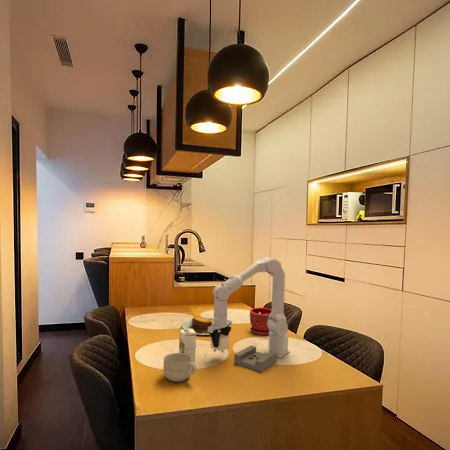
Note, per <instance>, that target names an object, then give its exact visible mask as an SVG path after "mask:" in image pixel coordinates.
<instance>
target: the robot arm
mask: <svg viewBox="0 0 450 450" xmlns="http://www.w3.org/2000/svg"><path fill="white" fill-rule="evenodd" d="M258 273H268V275H270V276H271V278H272V290H271V292H272V293H271V294H272V295H271V310H272V312H271V313H270V314H269V319H268V321H267V327H268V328H269V334H268V349H267V350H266V351H265V352H264V354H267V353H269V352H271V351H273V352H276V353H277V358H279V359H280V358H283V357H284V356H285V355H287V354H288V353H290V350H289V348H288V347H289V346H288V345H289V337H288V334H287V333H288V331H289V326H288V324H287V317H286V316H285V314H284V312H285V311H284V310H285V309H284V306H285V305H284V304H285V288H286V287H285V284H286V283H285V282H286V274H285V271H284V269H283V267H282V262H280V261H279V260H278V259H276V258H271V257H268V256H262V257H261V258H260V259H257V260H256V261H255V262H254V263H253V264H251V265H250V266H249V267H248V268H246V269H245V270H244V271H243V272H241V273H239V274H234V275H230V276H229V278H228V279H227V280H225V281H224V282H223V281H222V282H221V283H220V284H218V285H216V286H215V287H214V288H213V290H212V291H211V292H212V296H213V297H214V298H213V299H214V300H213V301H214V302H213V318H214V322H212V325H211V326H210V327H208V332H209V334H210V335H209V336H210V340H211V339H212V342H213V347H216V348H218V346H219V338H220V335H221V334H222V335H226V336H229V335H230V332H231V331H232V325H233V324H232V322H233V320H231V319H228V299H229V298H230V295H231V294H233V293H234V292H235V291H237V290H238V289H240V288H241V287H242V286H243V283H244V282H245V281H247V280H248V279H249V278H251V277H253V276H255V275H256V274H258ZM218 329H220V332H218Z"/></svg>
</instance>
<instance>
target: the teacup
mask: <svg viewBox="0 0 450 450" xmlns="http://www.w3.org/2000/svg"><path fill="white" fill-rule="evenodd" d="M192 359H193V358H192V356H191V355H189V354H185V353H179V352H174V353H173V352H172V353H169V354H168V353H167V354H166V355H165V356H163V374H164V377H166V378H167V380H169V381H171V382H175V383H176V382H179V383H180V382H183V381H185V380H187V379H188V378H189V377H190V376H192V375H193V374H195V373H196V372H197V365H196V362H195V363H193V362H192ZM192 367H193V368H192Z"/></svg>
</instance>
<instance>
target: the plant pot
mask: <svg viewBox="0 0 450 450" xmlns="http://www.w3.org/2000/svg"><path fill="white" fill-rule="evenodd" d="M271 312H272V308H271V309H270V308H266V307H254V308H251V309H250V310H249V320H250V321H249V322H250V332H252V333H253V334H255V335H260V336H264V335H265V336H266V335H269V328H268V327H267V321H268V319H269V314H270V313H271Z"/></svg>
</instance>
